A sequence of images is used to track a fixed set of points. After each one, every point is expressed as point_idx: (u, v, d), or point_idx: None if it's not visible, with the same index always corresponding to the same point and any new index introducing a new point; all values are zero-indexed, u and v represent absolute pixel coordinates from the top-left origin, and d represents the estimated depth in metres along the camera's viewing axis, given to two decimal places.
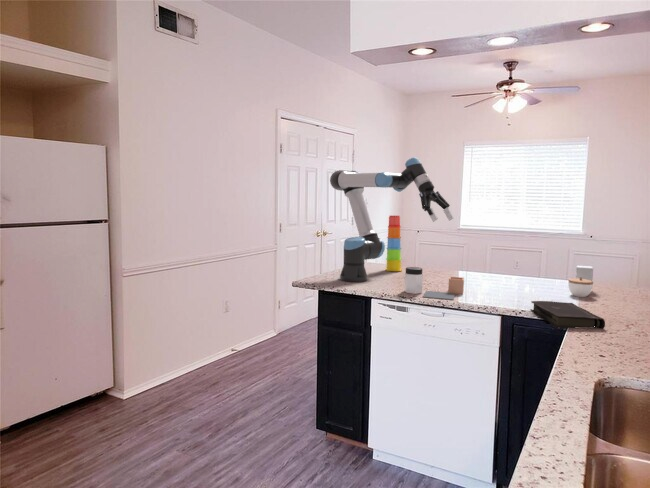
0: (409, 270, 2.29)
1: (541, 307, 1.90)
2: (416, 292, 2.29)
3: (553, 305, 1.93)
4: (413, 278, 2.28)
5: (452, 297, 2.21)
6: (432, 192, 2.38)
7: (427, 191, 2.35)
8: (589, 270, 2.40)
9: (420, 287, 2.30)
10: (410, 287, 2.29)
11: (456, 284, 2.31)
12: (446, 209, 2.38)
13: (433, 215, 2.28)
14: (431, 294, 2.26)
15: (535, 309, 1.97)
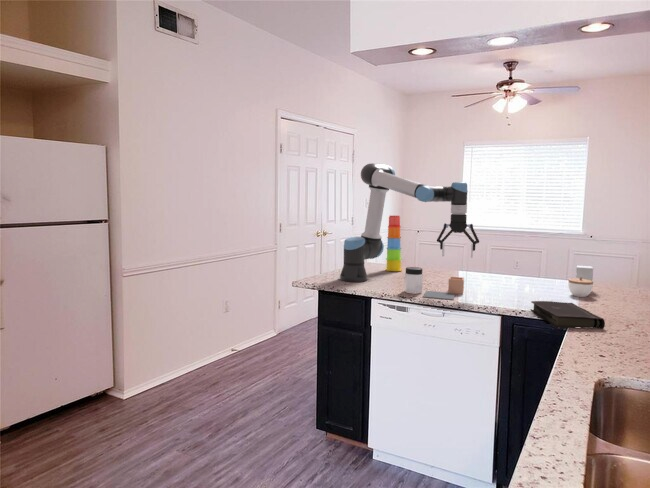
0: (409, 270, 2.29)
1: (541, 307, 1.90)
2: (416, 292, 2.29)
3: (553, 305, 1.93)
4: (413, 278, 2.28)
5: (452, 297, 2.21)
6: (461, 225, 2.30)
7: (453, 223, 2.31)
8: (589, 270, 2.40)
9: (420, 287, 2.30)
10: (410, 287, 2.29)
11: (456, 284, 2.31)
12: (471, 245, 2.30)
13: None
14: (431, 294, 2.26)
15: (535, 309, 1.98)
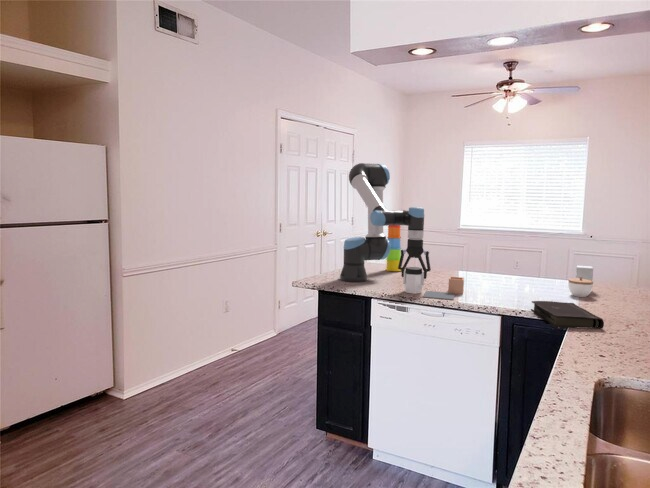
0: (409, 270, 2.29)
1: (541, 307, 1.90)
2: (416, 292, 2.29)
3: (553, 305, 1.93)
4: (413, 278, 2.28)
5: (452, 297, 2.21)
6: (417, 249, 2.29)
7: (409, 248, 2.30)
8: (589, 270, 2.40)
9: (420, 287, 2.30)
10: (410, 287, 2.29)
11: (456, 284, 2.31)
12: (422, 273, 2.30)
13: None
14: (431, 294, 2.26)
15: (535, 309, 1.98)
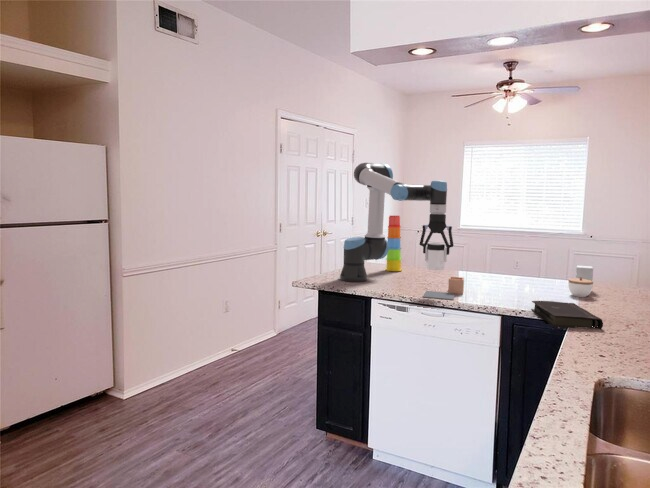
0: (431, 246, 2.22)
1: (540, 307, 1.90)
2: (438, 268, 2.22)
3: (553, 305, 1.93)
4: (435, 254, 2.21)
5: (452, 297, 2.21)
6: (440, 224, 2.22)
7: (431, 223, 2.23)
8: (589, 270, 2.40)
9: (442, 263, 2.23)
10: (432, 263, 2.22)
11: (456, 284, 2.31)
12: (445, 249, 2.23)
13: (425, 255, 2.26)
14: (431, 294, 2.26)
15: (536, 309, 1.98)
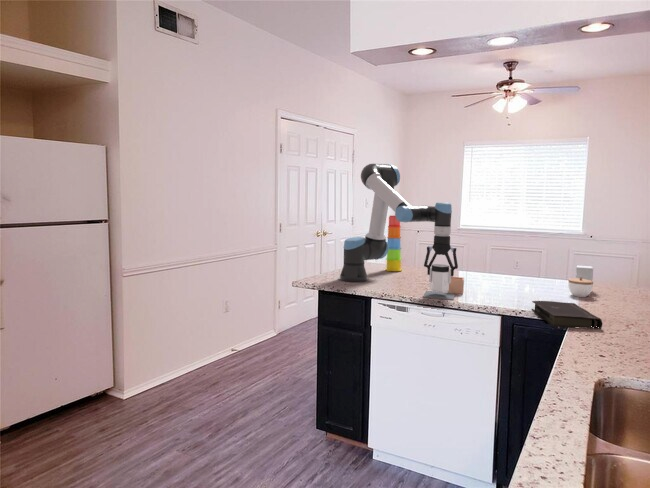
0: (435, 267, 2.22)
1: (540, 307, 1.91)
2: (443, 290, 2.22)
3: (553, 305, 1.94)
4: (440, 276, 2.21)
5: (452, 297, 2.21)
6: (444, 246, 2.22)
7: (435, 245, 2.23)
8: (589, 270, 2.40)
9: (447, 285, 2.23)
10: (436, 285, 2.22)
11: (456, 284, 2.31)
12: (449, 271, 2.23)
13: None
14: (431, 294, 2.26)
15: (536, 309, 1.98)
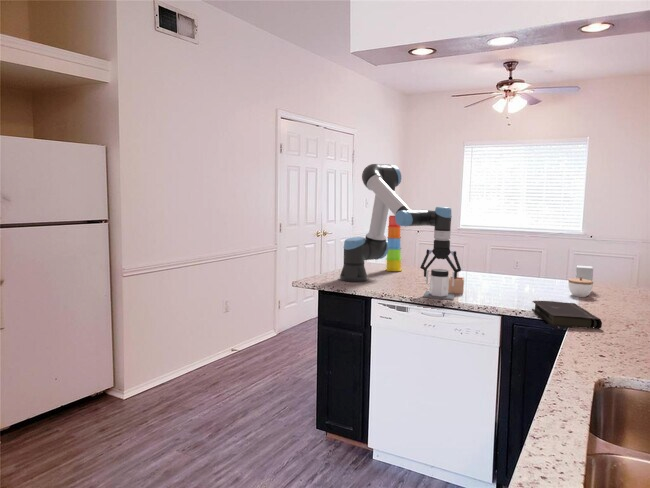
0: (435, 272, 2.22)
1: (540, 306, 1.91)
2: (442, 295, 2.22)
3: (553, 305, 1.94)
4: (439, 280, 2.21)
5: (452, 297, 2.21)
6: (444, 251, 2.22)
7: (436, 249, 2.23)
8: (589, 270, 2.40)
9: (446, 290, 2.23)
10: (436, 290, 2.22)
11: (456, 284, 2.31)
12: None
13: (426, 278, 2.27)
14: None
15: (536, 309, 1.98)
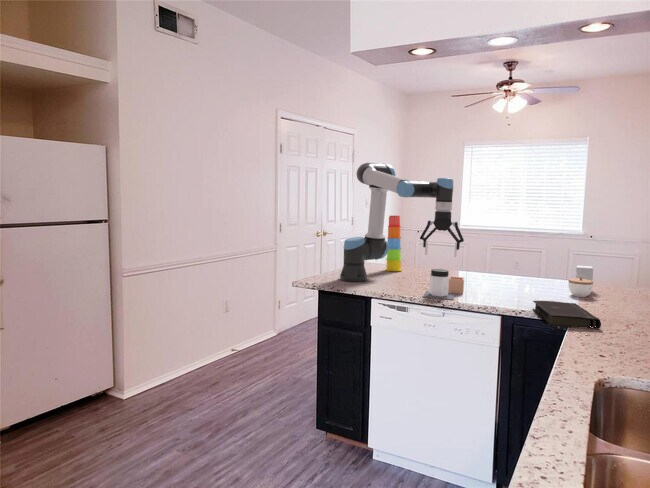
0: (435, 272, 2.22)
1: (540, 306, 1.91)
2: (442, 295, 2.22)
3: (554, 305, 1.94)
4: (439, 280, 2.21)
5: (452, 297, 2.21)
6: (445, 223, 2.21)
7: (437, 221, 2.22)
8: (589, 270, 2.40)
9: (446, 290, 2.23)
10: (436, 290, 2.22)
11: (456, 284, 2.31)
12: (455, 244, 2.21)
13: None
14: None
15: (536, 308, 1.99)
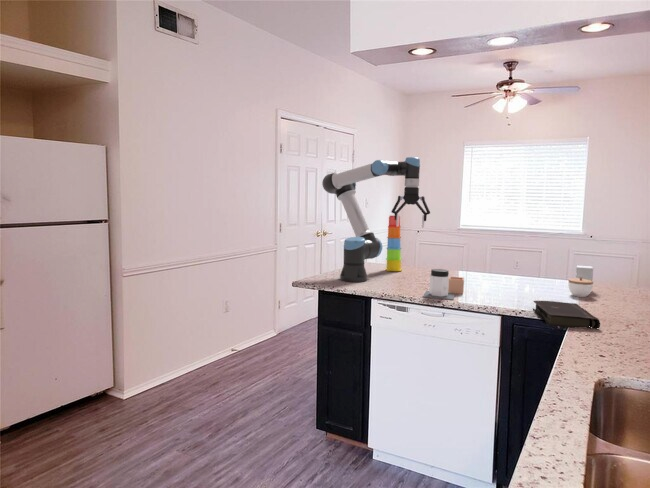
0: (435, 272, 2.22)
1: (539, 306, 1.91)
2: (442, 295, 2.22)
3: (554, 305, 1.94)
4: (439, 280, 2.21)
5: (452, 297, 2.21)
6: (413, 197, 2.48)
7: (406, 196, 2.49)
8: (589, 270, 2.40)
9: (446, 290, 2.23)
10: (436, 290, 2.22)
11: (456, 284, 2.31)
12: None
13: None
14: None
15: (536, 308, 1.99)
